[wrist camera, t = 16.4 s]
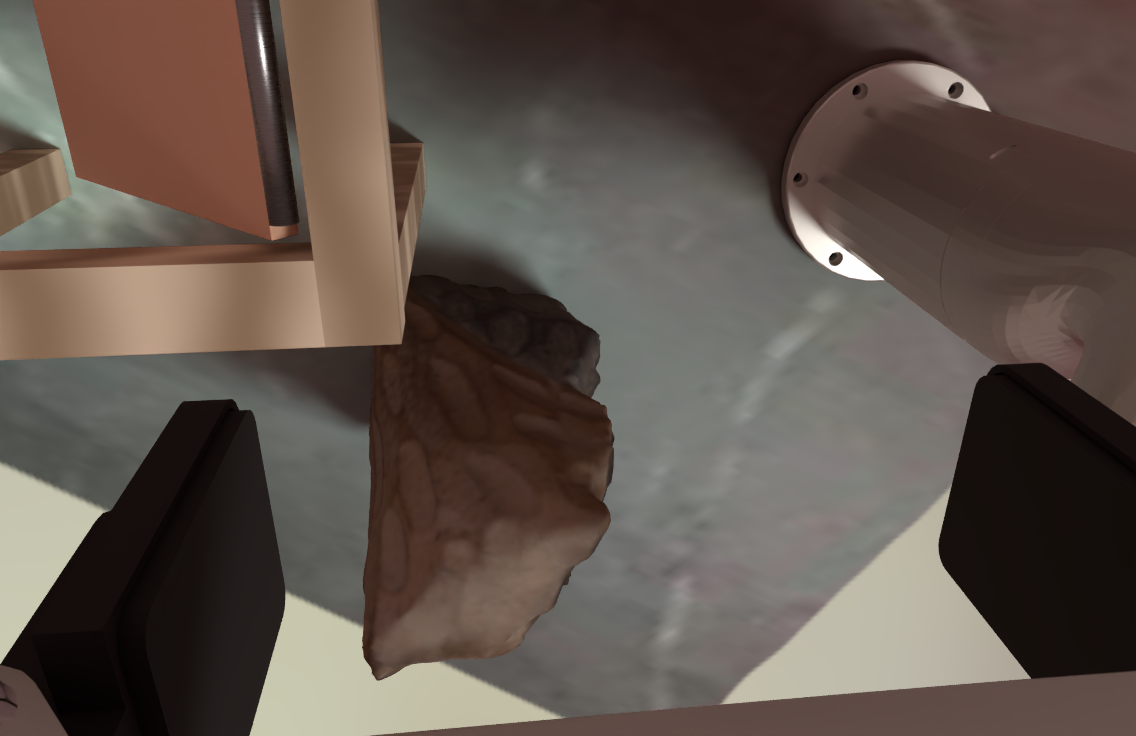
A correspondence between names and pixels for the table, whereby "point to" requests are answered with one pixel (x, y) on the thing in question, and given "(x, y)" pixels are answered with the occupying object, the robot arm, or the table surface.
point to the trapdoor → (176, 105)
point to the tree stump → (479, 472)
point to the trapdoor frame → (247, 271)
